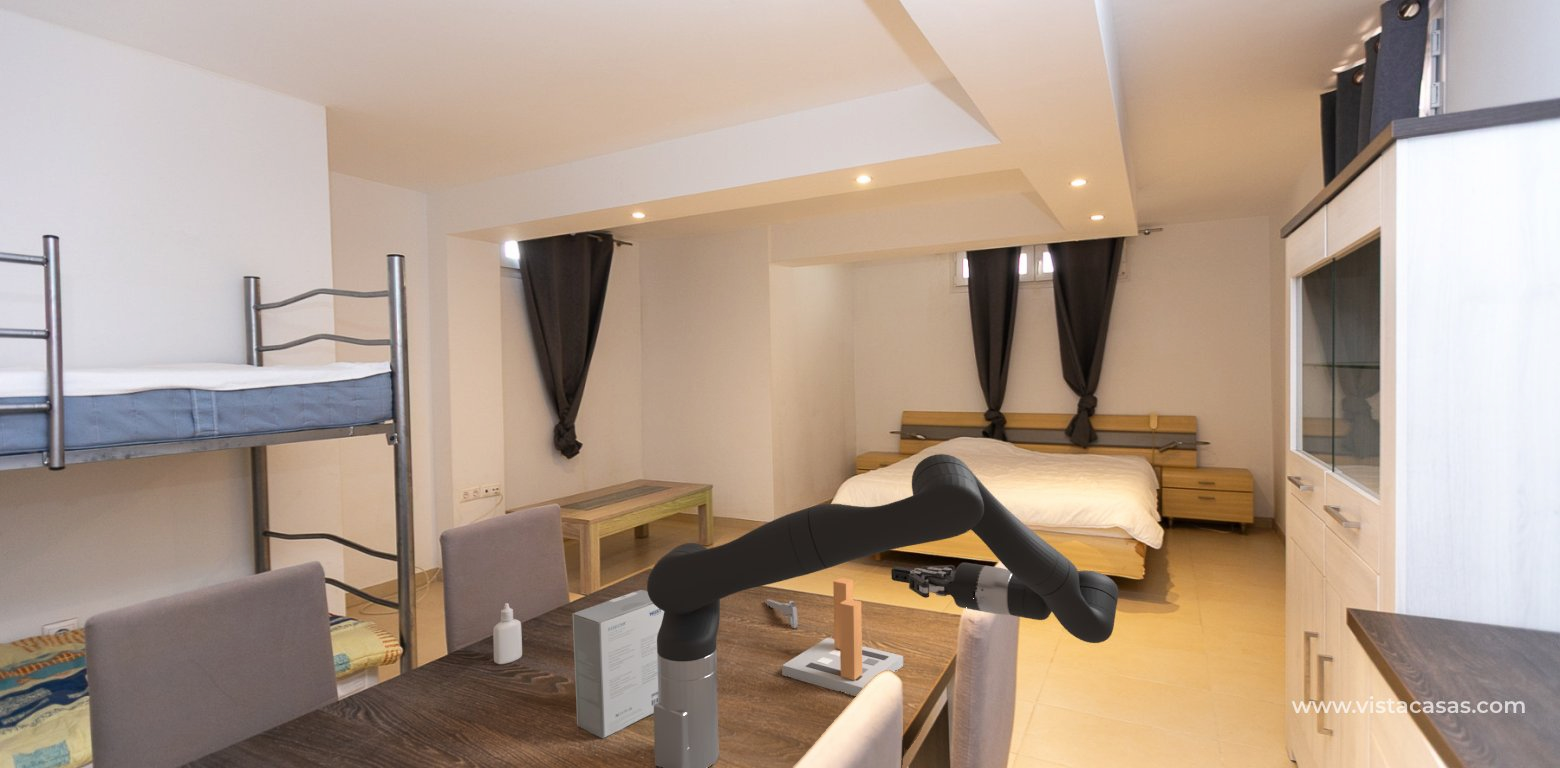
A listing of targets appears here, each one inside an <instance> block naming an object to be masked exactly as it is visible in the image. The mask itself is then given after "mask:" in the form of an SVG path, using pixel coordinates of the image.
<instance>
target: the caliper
mask: <svg viewBox="0 0 1560 768" xmlns="http://www.w3.org/2000/svg"><path fill="white" fill-rule="evenodd" d="M764 602H765V603H764ZM764 602H763V603H764V604H765V605H766V604H768V605H769V606H770V608H772V609H775V610H778V611H781V612H782V615H783V616H787V617H788V622H789V626H790V625H793V627H792V629H793V628H794V629H798V627H799V626H798V625H799V624H798V616H799V615H798V609H797V606H796V601H794V600H790V601H789V602H788V603H786V602H784V603H782V602H779V601H776V600H773V599H770V598H769V599H765V601H764ZM769 606H768V607H769Z"/></svg>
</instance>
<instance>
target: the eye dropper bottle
mask: <svg viewBox="0 0 1560 768" xmlns="http://www.w3.org/2000/svg"><path fill="white" fill-rule="evenodd" d="M492 631H493V636H492V637H493V661H494V663H495V664H497V665H505V664H509V663H512V662H514V661H517V660H518V659H520V658H522V656H523V640H522V639H523V638H522V622H521V621H520V620H518V619H515V618H514V609H513V608H511V607H510V604H509V603H508V602H506V603H504V606H503V609H501V610H500V621H499V622H498V623H497V624H496V625H494V627H493V630H492Z"/></svg>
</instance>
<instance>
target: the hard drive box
mask: <svg viewBox="0 0 1560 768" xmlns="http://www.w3.org/2000/svg"><path fill="white" fill-rule="evenodd" d="M663 615H664V611H663V610H661V609H659V608H658V607H657V606H655V605H654V604H653V602H652V601H651V600H650V598H649V595H648V592H647V590H644V589H638V590H635V591H632V592H631V593H627V594H624V595H621V596H619V597H616V598H612V599H610V600H606V601H603V602H601V603H599V604H596V605H593V606H591V607H588V608H584V609H582V610H578V611H576V612H574V613H572V632H573V658H574V677H575V678H574V680H575V681H574V682H575V697H576V700H575V701H576V703H575V705H576V724H577V727H579V728H581V729H583V730H585V731H587V732H589V733H590V734H592V735H595V736H596V737H598V738H600V739H605V738H606V737H609V736H610V735H612V734H615V733H617V732H619V731H621V730H623V729H625V728H627V727H628V726H631V725H633V724H635V723H636V722H638V721H641V720H642V719H644V718H646V717H648V716H650V715H654V705H655V704H656V703H658V665H657V635H658V632H659V629H660V627H661V624H662V620H663Z"/></svg>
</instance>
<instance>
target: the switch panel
mask: <svg viewBox="0 0 1560 768" xmlns="http://www.w3.org/2000/svg"><path fill="white" fill-rule="evenodd" d="M903 667H904V655H901V654H896V653H892V652H888V651H885V650H880V649H876V648H872V647H868V646H864V645H862V675H861V676H860V677H858V678H857V679H856V680H852V679H848V678H844V677H841V664H840V649H836V648H834V638H831V637H826V638H824V639H823V640H820V642H818V643H816V644H815V645H813V646H811V647H809V648H808V649H807V650H804V651H803V652H801V653H800V654H798V655H796V656H795V657H793V658H791V659H790V660H788V661H787V662H785V663H784V664H782V668H781V670H782V676H785V677H787V676H788V678H790V677H791V679H795V680H798V681H802V682H805V683H808V684H812V685H815V686H818V687H821V688H825V689H829V690H832V691H836V692H839V691H841V692H840V693H842V692H846V693H849V694H852V695H851V696H854V697H856V695H857V694H858V693H859V692H860V691H861V690H862V689H863V688H864V686H865V685H866V684H867V683H868V682H869V681H870V680H871V679H872V678H873V677H874V676H875V675H877V674H878V673H880V672H882V671H885V670H891V671H893V672H895V670H897V671H899V670H900V669H901V668H903ZM898 669H899V670H898ZM895 673H896V672H895ZM846 693H845V694H846ZM849 694H848V695H849Z"/></svg>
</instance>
